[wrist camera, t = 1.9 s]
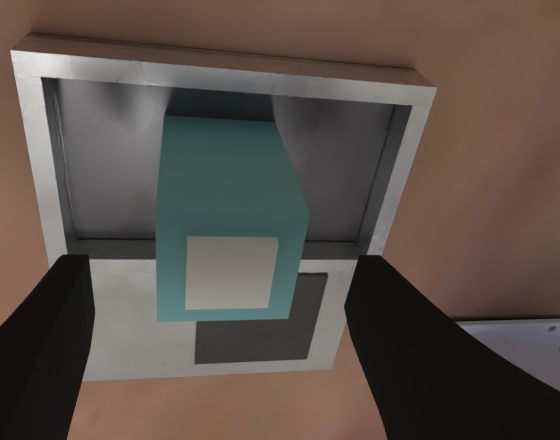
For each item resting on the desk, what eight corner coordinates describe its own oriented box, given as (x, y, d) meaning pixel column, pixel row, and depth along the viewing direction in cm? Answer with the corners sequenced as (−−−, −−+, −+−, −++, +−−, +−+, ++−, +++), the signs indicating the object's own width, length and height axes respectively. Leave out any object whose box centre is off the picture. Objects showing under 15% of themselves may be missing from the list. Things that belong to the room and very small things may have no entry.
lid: (362, 243, 22) (368, 255, 22) (328, 359, 27) (332, 372, 26) (61, 240, 20) (56, 254, 19) (81, 370, 24) (78, 385, 24)
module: (275, 122, 17) (312, 220, 12) (262, 211, 20) (290, 326, 14) (164, 115, 16) (154, 216, 11) (164, 209, 19) (156, 329, 14)
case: (414, 69, 18) (437, 87, 16) (362, 244, 22) (376, 271, 21) (29, 32, 15) (10, 50, 13) (61, 241, 20) (50, 273, 18)
